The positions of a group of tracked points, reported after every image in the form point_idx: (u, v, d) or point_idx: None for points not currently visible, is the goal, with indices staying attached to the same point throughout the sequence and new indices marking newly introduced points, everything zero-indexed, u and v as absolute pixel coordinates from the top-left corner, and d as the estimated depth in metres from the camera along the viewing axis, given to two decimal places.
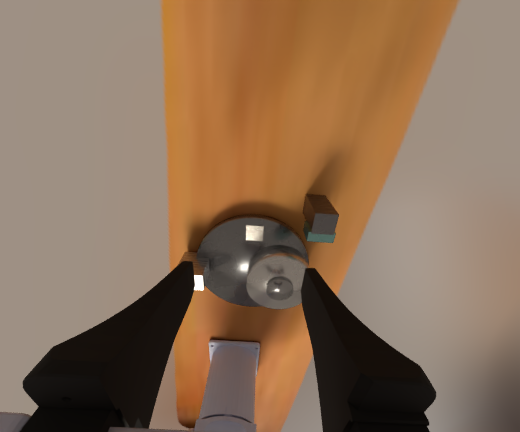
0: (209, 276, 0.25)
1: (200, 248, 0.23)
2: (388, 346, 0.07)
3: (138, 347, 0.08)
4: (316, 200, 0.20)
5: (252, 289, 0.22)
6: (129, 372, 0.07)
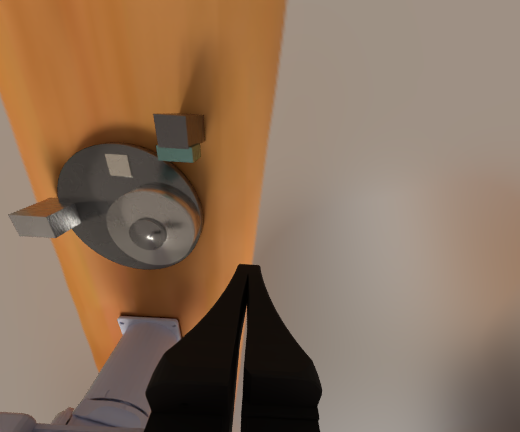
0: (83, 228, 0.20)
1: (59, 189, 0.18)
2: (292, 341, 0.07)
3: (234, 352, 0.08)
4: None
5: (118, 237, 0.18)
6: (232, 377, 0.07)
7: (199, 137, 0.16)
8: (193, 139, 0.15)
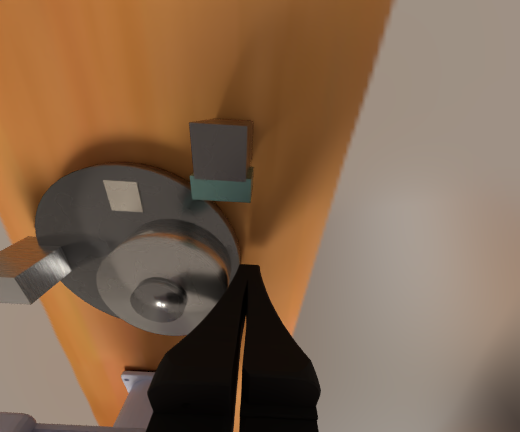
0: (74, 278, 0.15)
1: (38, 228, 0.13)
2: (290, 341, 0.07)
3: (236, 352, 0.08)
4: (225, 120, 0.10)
5: (114, 301, 0.12)
6: (233, 377, 0.07)
7: (250, 156, 0.10)
8: (248, 162, 0.09)
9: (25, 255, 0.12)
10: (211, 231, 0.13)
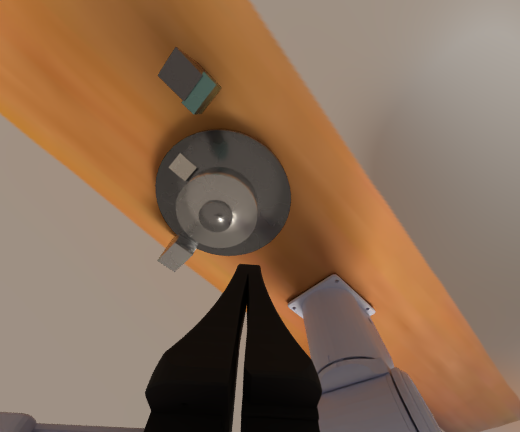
0: None
1: (169, 224, 0.21)
2: (292, 341, 0.07)
3: (234, 352, 0.08)
4: None
5: (202, 238, 0.19)
6: (232, 377, 0.07)
7: None
8: (201, 71, 0.14)
9: (174, 239, 0.21)
10: (235, 144, 0.18)
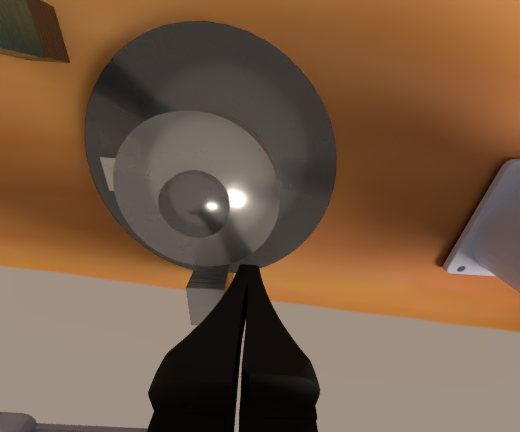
0: None
1: (181, 264, 0.14)
2: (290, 341, 0.07)
3: (236, 352, 0.08)
4: None
5: (215, 256, 0.10)
6: (234, 377, 0.07)
7: None
8: None
9: None
10: (143, 69, 0.09)
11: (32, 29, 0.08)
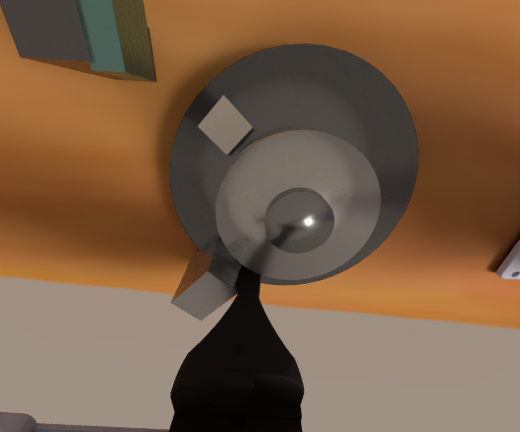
0: None
1: (191, 234, 0.12)
2: (276, 340, 0.07)
3: None
4: None
5: (260, 263, 0.10)
6: None
7: None
8: None
9: (200, 261, 0.12)
10: (335, 78, 0.09)
11: (149, 54, 0.08)
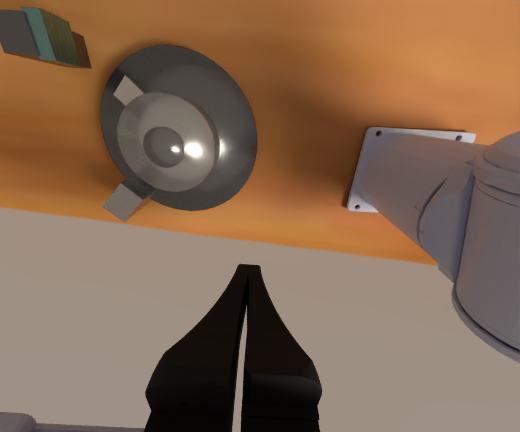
0: (164, 194, 0.20)
1: (121, 169, 0.19)
2: (292, 341, 0.07)
3: (234, 352, 0.08)
4: None
5: (152, 178, 0.16)
6: (232, 377, 0.07)
7: None
8: None
9: None
10: (188, 65, 0.15)
11: (75, 51, 0.14)
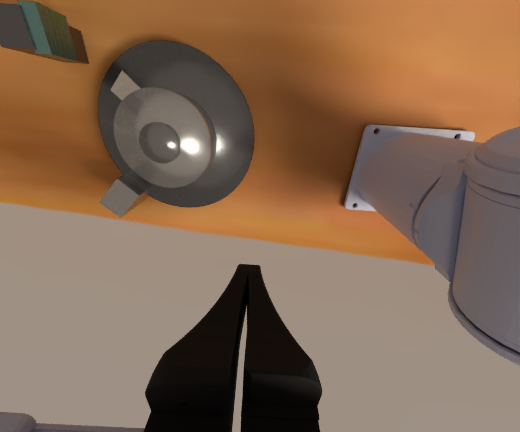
0: (161, 190, 0.20)
1: (118, 165, 0.19)
2: (292, 341, 0.07)
3: (234, 352, 0.08)
4: None
5: (149, 174, 0.16)
6: (232, 377, 0.07)
7: None
8: None
9: None
10: (185, 60, 0.15)
11: (72, 46, 0.14)
